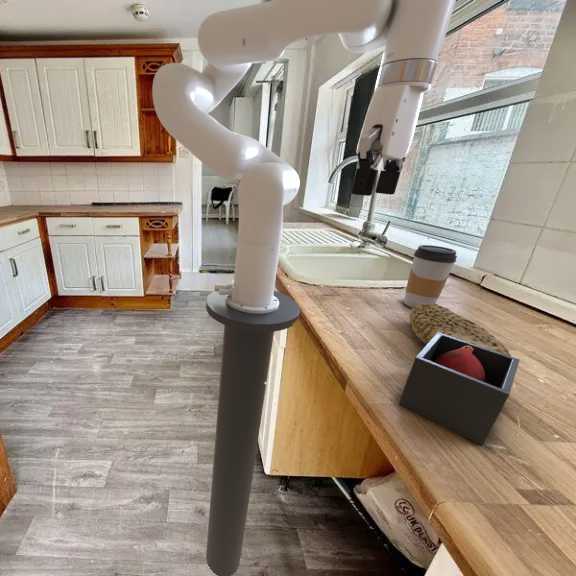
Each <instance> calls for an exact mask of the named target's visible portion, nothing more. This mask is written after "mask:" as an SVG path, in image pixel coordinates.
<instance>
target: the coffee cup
mask: <svg viewBox="0 0 576 576" xmlns="http://www.w3.org/2000/svg"><path fill="white" fill-rule="evenodd" d="M457 258H458V255H457V250H455V249H453V248H449V247H445V246H440V245H439V246H438V245H430V244H429V245H428V244H421V245H418V247H417V249H415V251H414V253H413V260H412V265H411V268H410V270H409V275H408V280H407V284H406V288H405V294H404V299H403V301H404V304H405V306H407V307H409V308H411V309H413V308H414V306H416V305H419V304H422V303H435V304H437V301H438V299H439V298H440V297H441V296H440V295H441V294H442V291H443V289H444V287H445V285H446V282H447V280H448V279H449V276H450V273H451V271H452V269H453V266H454V265H455V263H456V262H457Z"/></svg>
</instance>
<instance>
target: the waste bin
mask: <svg viewBox="0 0 576 576" xmlns="http://www.w3.org/2000/svg"><path fill="white" fill-rule="evenodd" d="M464 346H470V347H472V348H473V349H474V350H473V351H472V354H473V355H474V356H475V357H476V358H477V359H478V360H479V362H480V363H481V365H482V366H483V369H484V372H485V382H483V381H480V380H477V379H475V378H472V377H470V376H467V375H465V374H462V373H460V372H457V371H455V370H452V369H450V368H447V367H444V366H442V365H439V364H437V363H434V362H435V360H436V359H437V358H438V357H439V356H440V355H442V354H444V353H446V352H448V351H452V350H457V349H460V348H462V347H464ZM519 363H520V358H517V357H514V356H512V355H511V356H508V355H505V354H502V353H499V352H496V351H493V350H490V349H487V348H484V347H481V346H478V345H475V344H472V343H469V342H466V341H463V340H460V339H457V338H454V337H451V336H448V335H445V334H442V333H439V332H438V333H437V334H436V335H435V336H434V337H433V338H432V339H431V341H430V342H429V343H428V344H427V345H426V344H425V346H424V347H423V348H422V350H421V351H420V352H419V353H418V354H417V355H416V356H415V357H414V360H413V363H412V366H411V369H410V371H409V374H408V377H407V380H406V382H405V385H404V388H403V390H402V393H401V396H400V399H399V402H398V404H399V405H401V406H403V407H405V408H407V409H408V410H411V411H413V412H415V413H417V414H419V415H421V416H422V417H424V418H426V419H429V420H431V421H432V422H434V423H437V424H439V425H441V426H443V427H444V428H446V429H448V430H450V431H452V432H454V433H457V434H458V435H460V436H462V437H464V438H466V439H468V440H470V441H472V442H474V443H476V444H478V445H480V446H484V444H485V442H486V440H487V438H488V436H489V435H490V432H491V430H492V428H493V427H494V424H495V423H496V421H497V419H498V417H499V415H500V414H501V411H502V410H503V407H504V405H505V404H506V401H507V400H508V398H509V396H510V394H511V390H512V386H513V384H514V381H515V378H516V374H517V370H518V367H519Z"/></svg>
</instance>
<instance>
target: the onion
mask: <svg viewBox="0 0 576 576" xmlns="http://www.w3.org/2000/svg"><path fill="white" fill-rule="evenodd" d="M473 350H474V349H473V348H472V347H470V346H464V347H462V348H460V349H457V350H452V351H448V352H446V353H444V354H442V355H440V356H439V357H438V358H437V359H436V360H435V362H434V363H437V364H439V365H442V366H444V367H447V368H450V369H452V370H455V371H457V372H460V373H462V374H465V375H467V376H470V377H472V378H475V379H477V380H480V381H483V382H485V372H484V369H483V366H482V365H481V363H480V362H479V360H478V359H477V358H476V357H475V356H474V355H473V354H472V351H473Z"/></svg>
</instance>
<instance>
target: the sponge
mask: <svg viewBox="0 0 576 576" xmlns="http://www.w3.org/2000/svg"><path fill="white" fill-rule="evenodd" d="M409 323H410V324H411V328H412V332H413V334H414V335H415V336H416V337H417V338H418V339H419V340H420V341H421V342H422V343H424V345H425V346H426V345H427V344H428V343H429V342H430V341H431V339H432V338H433V337H434V336H435V335H436V334H437V333H438V332H439V333H442V334H445V335H448V336H451V337H454V338H457V339H460V340H463V341H466V342H469V343H472V344H475V345H478V346H481V347H484V348H487V349H490V350H493V351H496V352H499V353H502V354H505V355H508V356H511V357H512V355H511V353H510V351H509V349H508V348H507V347H506V346H505V344H503V343H502V342H501V341H500V340H499V339H498V338H496V337H495V336H494V335H493V334H492V333H490V332H489V331H488V330H487V329H485V328H484V327H481V326H480V325H479V324H478V323H477V322H475V321H474V322H473V321H471V320H469V319H467V318H466V317H464V316H461V315H459V314H457V313H455V312H454V311H452V310H450V309H449V308H448V307H444V306H443V305H440V304H438V303H436V304H435V303H422V304H419V305H416V306H414V308H411V310H410V313H409Z"/></svg>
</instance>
